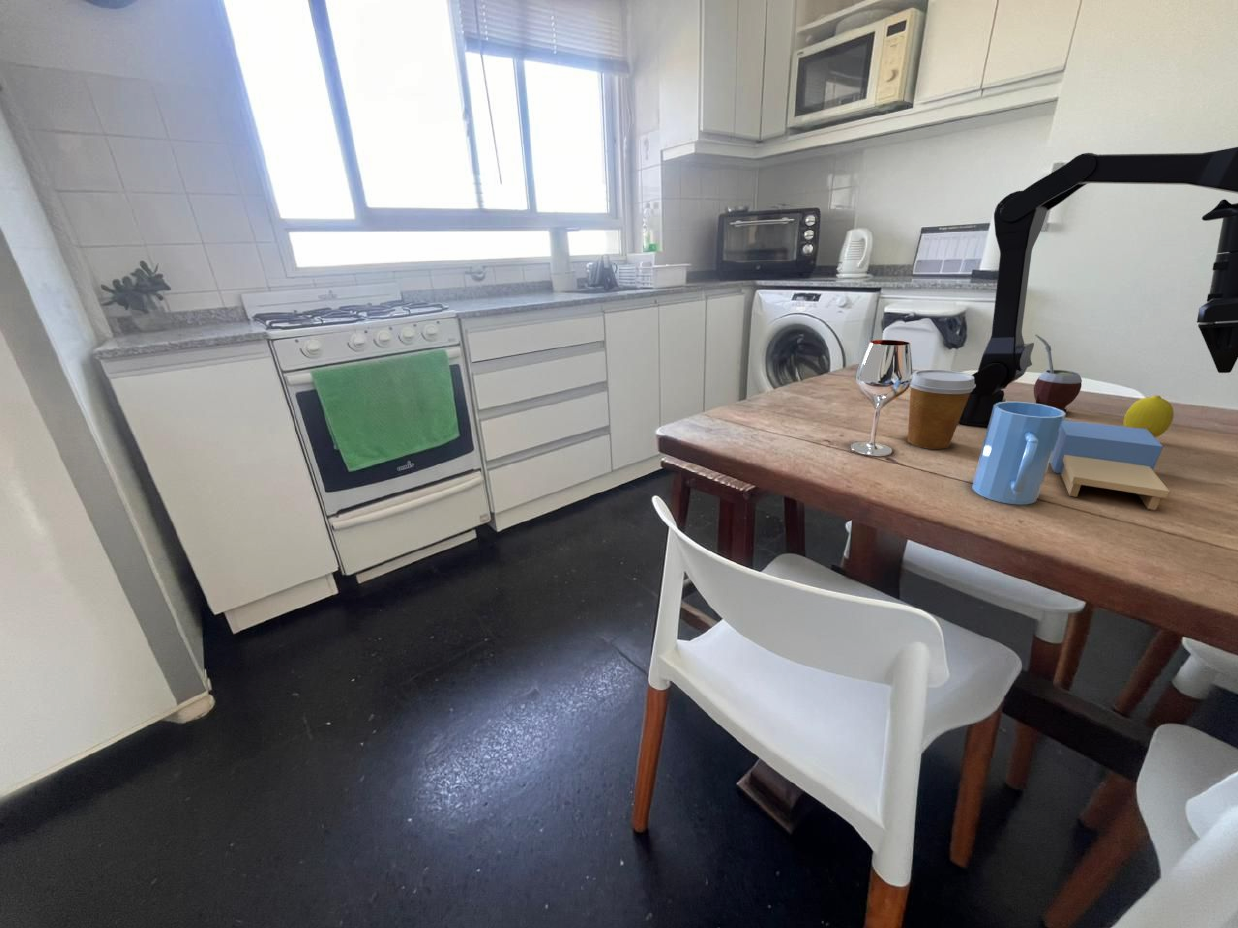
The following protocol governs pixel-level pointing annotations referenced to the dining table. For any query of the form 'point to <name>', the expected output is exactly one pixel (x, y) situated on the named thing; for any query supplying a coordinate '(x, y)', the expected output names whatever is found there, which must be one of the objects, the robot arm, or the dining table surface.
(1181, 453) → the dining table surface
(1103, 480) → the blue and wooden stand
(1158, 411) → the lemon
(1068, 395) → the mate gourd
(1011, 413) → the blue mug
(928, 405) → the disposable coffee cup
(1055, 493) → the dining table surface
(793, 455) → the dining table surface
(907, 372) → the wineglass
